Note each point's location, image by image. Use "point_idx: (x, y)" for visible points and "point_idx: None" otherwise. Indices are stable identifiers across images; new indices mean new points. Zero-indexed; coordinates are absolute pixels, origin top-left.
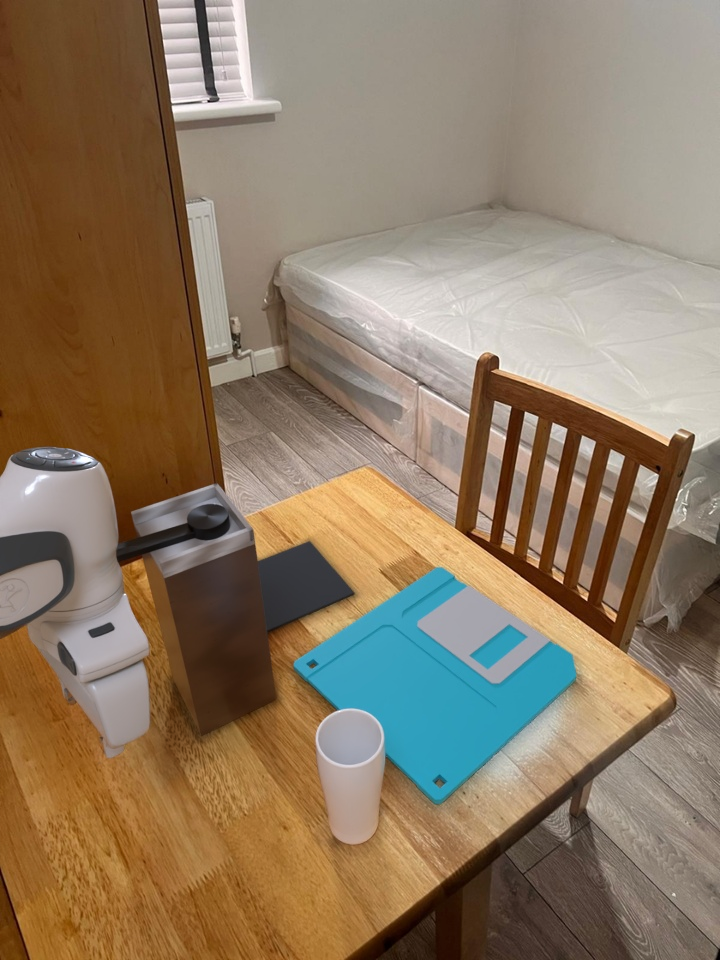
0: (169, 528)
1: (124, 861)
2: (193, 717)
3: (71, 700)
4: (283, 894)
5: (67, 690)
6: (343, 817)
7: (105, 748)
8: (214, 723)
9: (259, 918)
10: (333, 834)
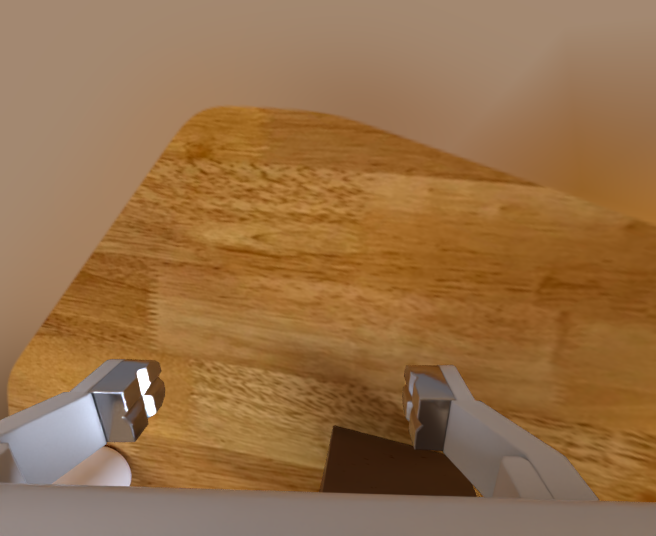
0: None
1: (233, 248)
2: (359, 442)
3: (409, 380)
4: (86, 364)
5: (434, 406)
6: None
7: (79, 383)
8: (327, 455)
9: (79, 330)
10: (100, 448)
